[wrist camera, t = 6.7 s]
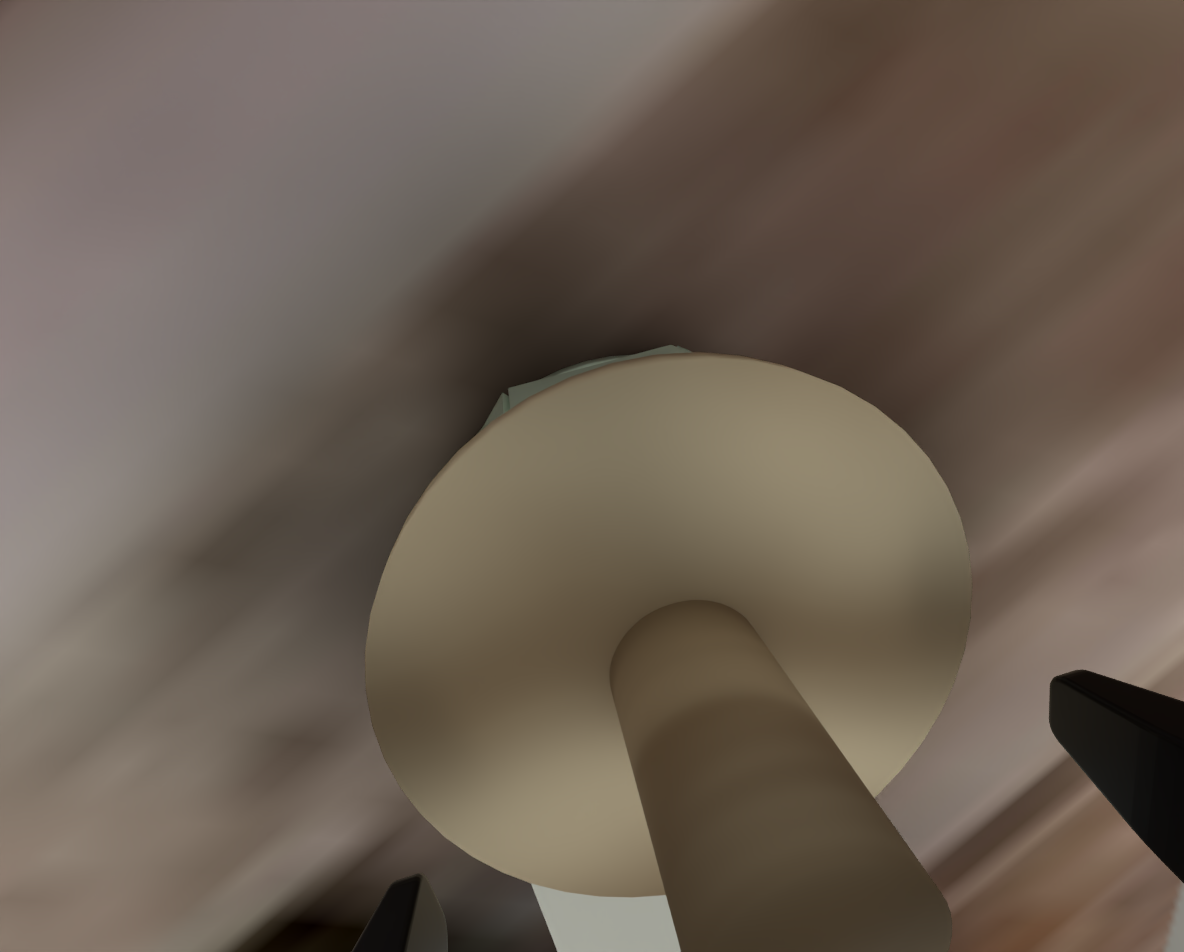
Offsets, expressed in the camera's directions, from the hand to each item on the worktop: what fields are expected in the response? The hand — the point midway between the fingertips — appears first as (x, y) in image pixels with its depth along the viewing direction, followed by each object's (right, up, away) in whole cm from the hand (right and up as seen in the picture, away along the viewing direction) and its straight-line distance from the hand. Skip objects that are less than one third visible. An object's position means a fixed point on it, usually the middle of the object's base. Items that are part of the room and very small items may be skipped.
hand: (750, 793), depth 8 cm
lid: (-1, +1, +3) cm, 4 cm away
